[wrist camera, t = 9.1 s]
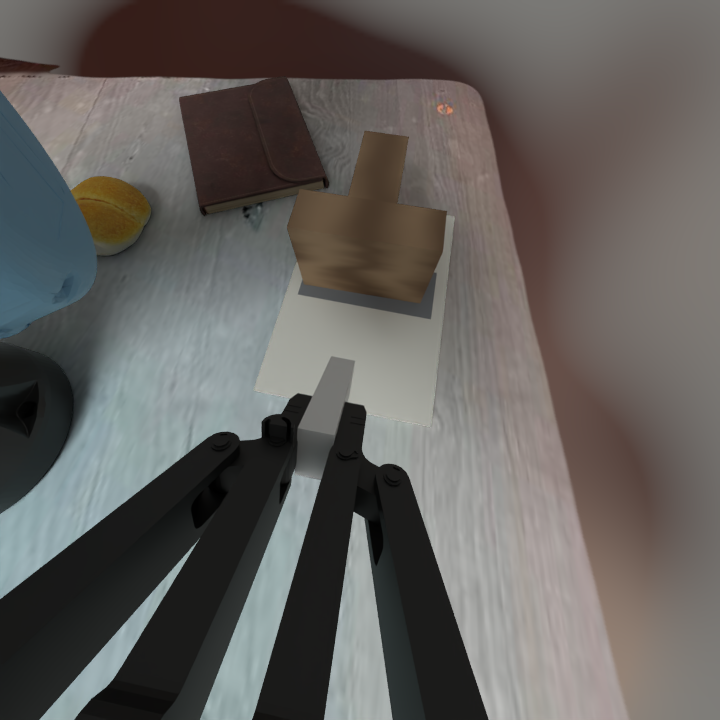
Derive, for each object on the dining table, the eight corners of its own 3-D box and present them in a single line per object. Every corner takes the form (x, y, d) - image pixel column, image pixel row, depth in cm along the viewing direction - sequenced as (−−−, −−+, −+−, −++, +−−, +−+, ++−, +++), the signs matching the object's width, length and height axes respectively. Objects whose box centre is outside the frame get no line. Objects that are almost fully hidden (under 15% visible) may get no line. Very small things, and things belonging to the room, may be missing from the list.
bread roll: (164, 200, 32) (139, 166, 28) (133, 262, 29) (100, 234, 25) (97, 191, 32) (63, 156, 29) (59, 252, 29) (15, 222, 26)
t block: (304, 284, 28) (286, 227, 21) (328, 197, 32) (321, 124, 25) (420, 303, 27) (443, 251, 20) (430, 213, 31) (453, 143, 24)
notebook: (204, 218, 32) (195, 203, 30) (184, 111, 37) (174, 93, 36) (329, 190, 33) (327, 174, 31) (290, 92, 39) (287, 74, 37)
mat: (255, 391, 25) (253, 390, 24) (319, 197, 32) (319, 193, 32) (429, 427, 24) (431, 426, 24) (453, 219, 32) (454, 216, 31)
